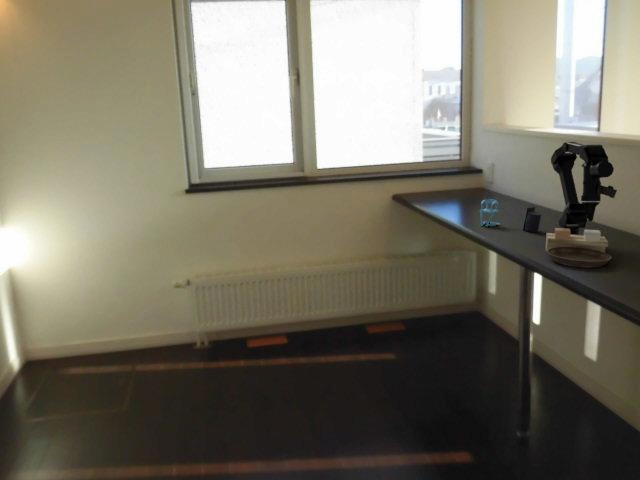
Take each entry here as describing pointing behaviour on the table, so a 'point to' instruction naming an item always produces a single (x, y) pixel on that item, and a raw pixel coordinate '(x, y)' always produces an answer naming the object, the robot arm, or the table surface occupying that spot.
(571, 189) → the robot arm
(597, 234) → the light grey block
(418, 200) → the table surface
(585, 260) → the plant saucer
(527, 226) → the speaker
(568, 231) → the tan clay block
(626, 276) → the table surface
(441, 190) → the table surface
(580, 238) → the beige elongated piece
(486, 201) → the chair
